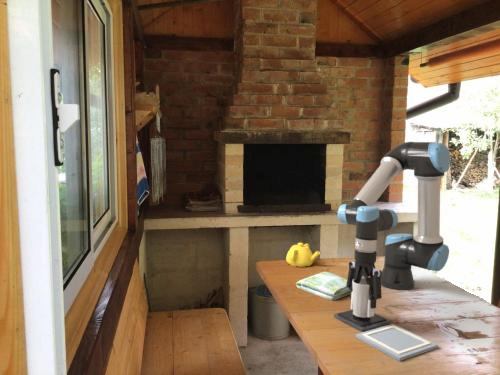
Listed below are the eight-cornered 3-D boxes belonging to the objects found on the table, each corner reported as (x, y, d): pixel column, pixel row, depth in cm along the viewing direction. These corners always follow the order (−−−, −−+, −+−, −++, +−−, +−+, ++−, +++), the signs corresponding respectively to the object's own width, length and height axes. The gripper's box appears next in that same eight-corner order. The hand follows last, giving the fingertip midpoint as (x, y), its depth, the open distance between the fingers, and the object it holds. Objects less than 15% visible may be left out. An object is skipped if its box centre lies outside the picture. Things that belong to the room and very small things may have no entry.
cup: (374, 311, 163) (376, 279, 162) (372, 320, 155) (374, 286, 154) (351, 308, 166) (353, 277, 164) (349, 316, 158) (351, 283, 157)
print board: (355, 337, 147) (355, 333, 147) (393, 326, 156) (393, 322, 156) (399, 361, 132) (399, 356, 132) (438, 347, 141) (438, 343, 141)
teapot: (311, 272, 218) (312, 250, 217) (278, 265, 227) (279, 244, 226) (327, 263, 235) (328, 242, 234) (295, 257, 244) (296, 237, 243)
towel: (333, 302, 179) (334, 290, 178) (294, 288, 195) (295, 277, 194) (360, 293, 191) (361, 281, 190) (322, 280, 207) (322, 269, 206)
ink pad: (333, 317, 163) (334, 313, 163) (361, 310, 170) (361, 306, 170) (361, 331, 151) (362, 327, 151) (390, 323, 159) (390, 319, 158)
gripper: (338, 244, 165) (335, 304, 167) (380, 258, 147) (376, 324, 150) (353, 242, 169) (349, 301, 171) (395, 255, 151) (391, 320, 154)
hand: (362, 312), depth 160 cm, fingers closed on cup, 7 cm apart
